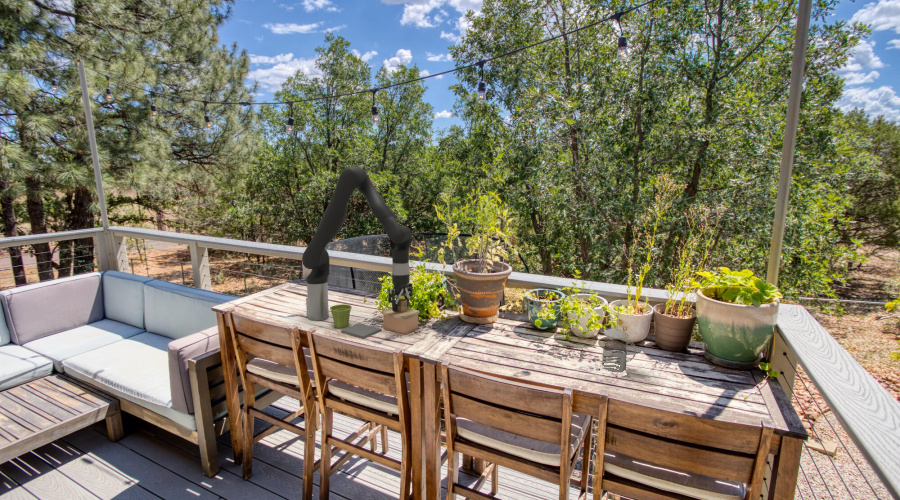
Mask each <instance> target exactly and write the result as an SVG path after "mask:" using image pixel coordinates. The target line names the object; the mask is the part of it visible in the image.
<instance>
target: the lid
mask: <svg viewBox="0 0 900 500" xmlns="http://www.w3.org/2000/svg"><path fill="white" fill-rule="evenodd" d="M397 304H398V311H397V312H393V310H392V307H390V308H387V309H384V310H382V311H381V315H383V314H384V315H388V316H392V317H396V318H401V319H405V320H406V319H408V318H410V317H413V316H415V315H417V314H418V315H419V314H420V312H421V311H420V310H417V309H414V308H410V307H407V300H406V299H405V298H401V297H400V299H399V300H398V302H397Z"/></svg>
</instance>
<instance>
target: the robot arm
mask: <svg viewBox="0 0 900 500" xmlns="http://www.w3.org/2000/svg"><path fill="white" fill-rule="evenodd" d="M355 190H358V191H359V192H360V193H361V194H362V195H363V196H364V198H365V200H367V203H368V206H369V208H370V210H371V212H372V214H373V216H374V217H375V218H376V219H377V221H378V222H379V223H380V224H381V226H382V227H383V230H384V231H385V233H386V235H387V237H388V239H390V241H391V242H392V243H394V244H395V247H394V248H393V250H392V255H391V256H392V258H391V259H392V263H391V264H392V265H391V283H392V284H393V288H388V293H387V294H388V303H389V304H391V305H392V307H391V308H392V310H393V312H397V311H398V304H397V302H398V300H399V299H400V298H401V297H403V299H406V300H407V308H410V299H411V297H413V283H410V249H411V244H412V243H411V241H412V233H411V229H410V228H409V226H407V225H399V223H398V221H397V216H396V214H395V213H394V212H393V210H391V208H390V207H389V206H388V204H387V203H386V202H385V200H384V199H383V198H382V196H381V195H380V194H379V192H378V191H377V188H376V187H375V186H374V184H373V182H372V180H371V178H370V177H369V175H368V174H367V172H366V171H365V170H364V169H363V168H362V167H358V166H349V167H346V168H343V170H342V171H341V172H340V175H339V176H338V180H337V183H336V185H335V188H334V192H333V195H332V196H331V199H330V200H329V203H328V204H327V207H326V208H325V211H324V213H323V215H322V217H321V220H320V222H319V224H318V226H317V228H316V230H315V231H314V232H315V233H314V235H313V237H312V238H311V240H310V242H309V244H308V245H307V247H306V248H305V250H304V251H303V254H302V257H301V262H302V265H303V266H304V268H305V269H308V270H311V271H310V273H309V274H308V275H307V276H306V295H307V297H306V298H305V302H306V305H305V306H306V318H308V320H310V321H313V322H314V321H316V322H318V321H323V320H327V319H328V318H329V313H330V312H329V310H330V307H329V288H328V287H329V284H328V283H329V282H328V278H329V275H330V254H329V253H328V250H327V249H326V248H327V245H328V244H329V243H330V242H331V241H332V240H333V239H334V238H335V237H336V236H337V235H338V233H339V232H340V231H341V229H342V227H343V225H344V223H345V221H346V219H347V213H348V204H349V200H350V198H351V197H352V194H353V192H354V191H355Z"/></svg>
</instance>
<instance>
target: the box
mask: <svg viewBox="0 0 900 500" xmlns="http://www.w3.org/2000/svg"><path fill="white" fill-rule="evenodd" d="M382 316H383V330H385V331H388V332H389V331H390V332H393V333H397V334H401V335H403V336H405V335H408V334H410V333H412V332H414V331H416V330H418V328H419V314H417V315H415V316H413V317H410V318H408V319H406V320H405V319H401V318H396V317H392V316H388V315H384V314H382Z"/></svg>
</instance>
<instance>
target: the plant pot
mask: <svg viewBox="0 0 900 500" xmlns="http://www.w3.org/2000/svg"><path fill="white" fill-rule="evenodd" d="M352 309H353V306H352V305H350V304H341V303H340V304H336V305H332V306H330V307H329V310H330V312H331V316H332V320H333V326H334V328H335V329H345V328H348V327H349V325H350V324H349V323H350V314H351V311H352Z"/></svg>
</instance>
